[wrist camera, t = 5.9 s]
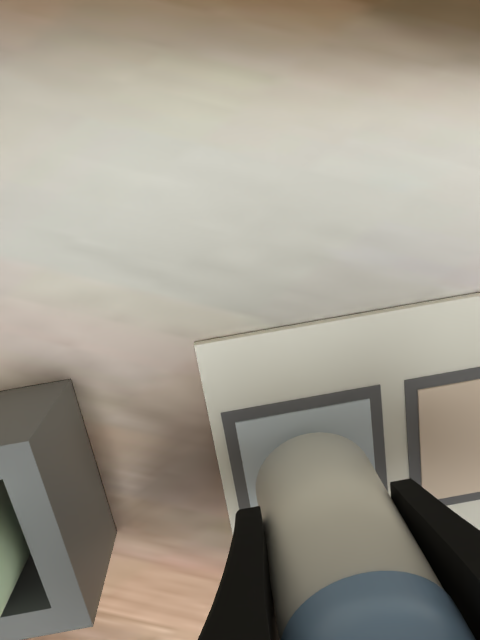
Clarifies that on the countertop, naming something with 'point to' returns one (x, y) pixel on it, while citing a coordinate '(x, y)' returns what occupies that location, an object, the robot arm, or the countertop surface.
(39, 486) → the button housing
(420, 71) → the countertop surface
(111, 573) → the countertop surface
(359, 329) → the sheet
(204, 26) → the countertop surface
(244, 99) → the countertop surface
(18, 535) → the button
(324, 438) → the cylinder
